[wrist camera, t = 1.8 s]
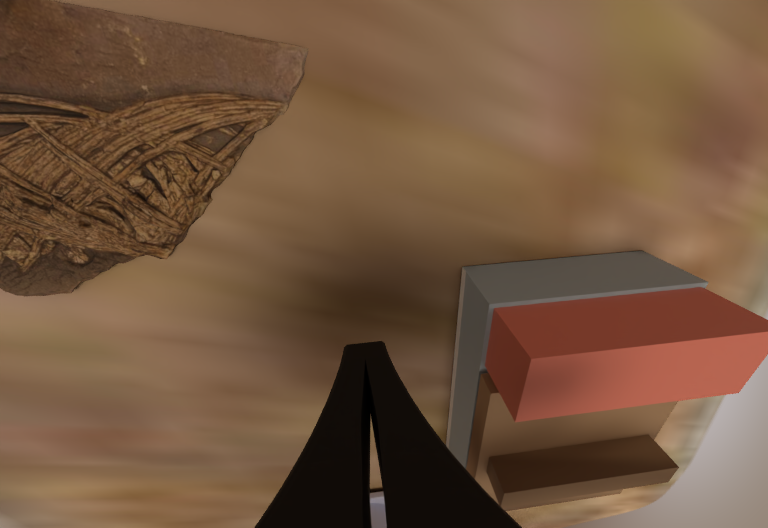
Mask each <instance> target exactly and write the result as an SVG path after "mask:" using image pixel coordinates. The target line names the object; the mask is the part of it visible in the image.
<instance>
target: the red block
mask: <svg viewBox="0 0 768 528" xmlns="http://www.w3.org/2000/svg"><path fill="white" fill-rule="evenodd" d="M767 354H768V320H767V319H765V318H763V317H761V316H759V315H757V314H755V313H753V312H751V311H749V310H747V309H745V308H743V307H741V306H739V305H737V304H735V303H733V302H731V301H729V300H727V299H725V298H723V297H721V296H719V295H717V294H715V293H713V292H711V291H709V290H707V289H705V288H703V287H696V288H686V289H677V290H667V291H657V292H647V293H637V294H627V295H617V296H608V297H598V298H588V299H578V300H568V301H558V302H548V303H539V304H529V305H519V306H509V307H499V308H494V311H493V317H492V323H491V329H490V336H489V342H488V348H487V354H486V361H485V367H486V369H487V371H488V373H489V374H490V376H491V378H492V380H493V382H494V384H495V386H496V388H497V389H498V391H499V393H500V395H501V397H502V399H503V401H504V403H505V404H506V406H507V408H508V410H509V412H510V414H511V416H512V418H513V419H514V421H515V422H522V421H529V420H537V419H545V418H552V417H560V416H567V415H575V414H582V413H590V412H598V411H605V410H613V409H620V408H628V407H635V406H643V405H651V404H658V403H666V402H673V401H681V400H688V399H696V398H704V397H711V396H719V395H726V394H734V393H739V392H740V390H741V389H742V388H743V386H744V385H745V383H746V382H747V381H748V380H749V378H750V377H751V376H752V374H753V373H754V372H755V370H756V369H757V367H758V366H759V365H760V364H761V362H762V361H763V360H764V358H765V357H766V356H767Z"/></svg>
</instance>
